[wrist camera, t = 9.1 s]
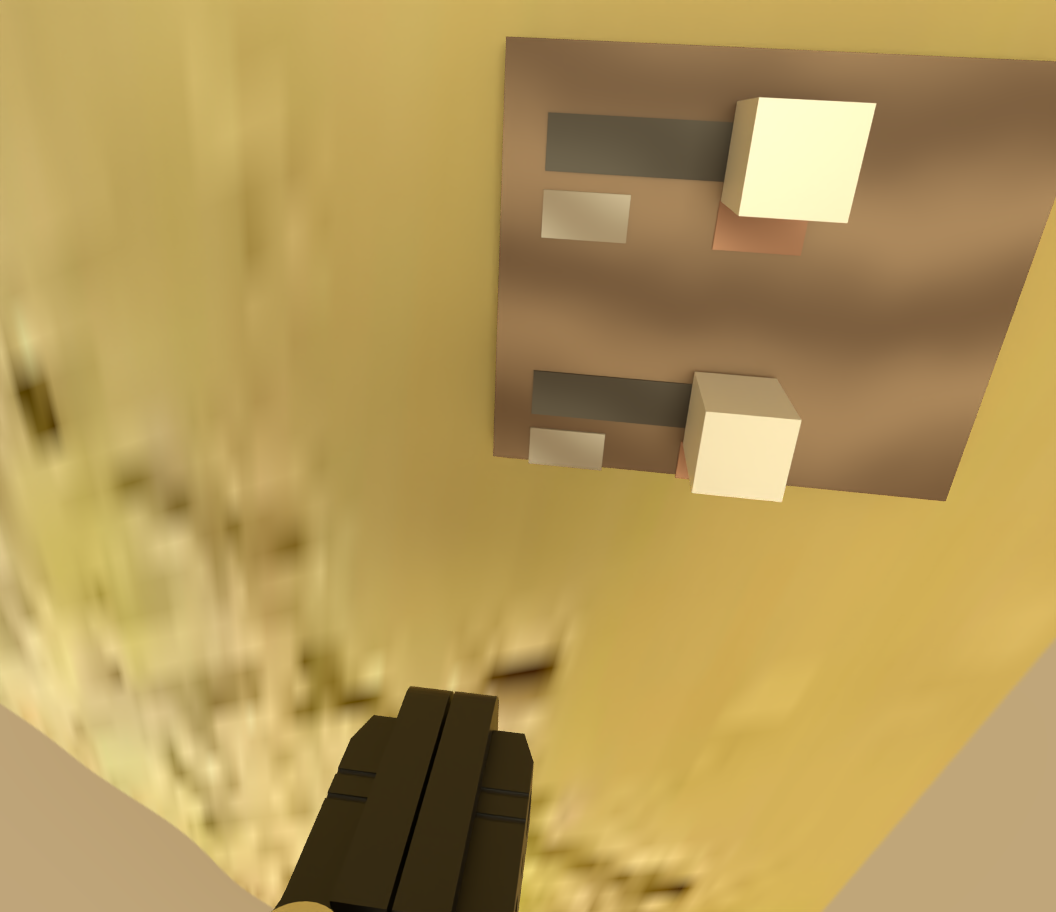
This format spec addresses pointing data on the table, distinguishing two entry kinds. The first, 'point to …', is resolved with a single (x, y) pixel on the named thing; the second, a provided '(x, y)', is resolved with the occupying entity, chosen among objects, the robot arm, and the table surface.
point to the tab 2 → (739, 436)
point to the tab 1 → (796, 158)
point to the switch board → (760, 255)
